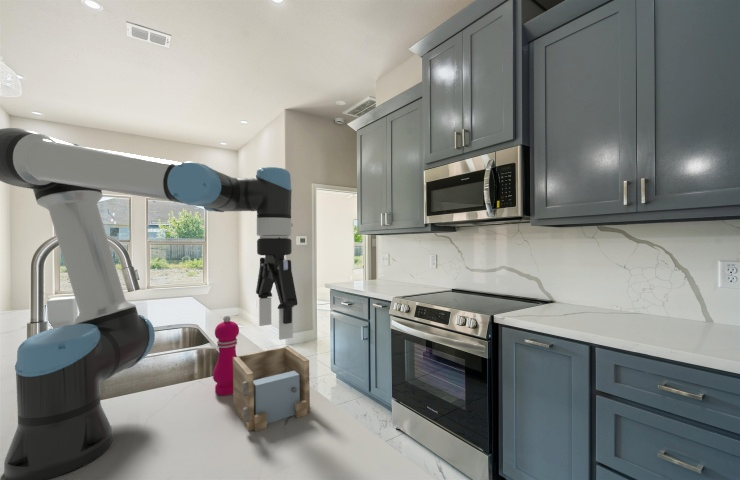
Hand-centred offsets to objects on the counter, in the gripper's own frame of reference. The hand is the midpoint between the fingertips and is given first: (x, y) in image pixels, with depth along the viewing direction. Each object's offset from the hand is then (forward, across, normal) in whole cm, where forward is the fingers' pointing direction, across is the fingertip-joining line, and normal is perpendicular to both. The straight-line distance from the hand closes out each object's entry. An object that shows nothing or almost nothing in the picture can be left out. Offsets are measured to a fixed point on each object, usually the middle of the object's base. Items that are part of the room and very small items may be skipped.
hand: (274, 331), depth 78 cm
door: (+20, 0, 0) cm, 20 cm away
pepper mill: (+20, +21, +6) cm, 29 cm away
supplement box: (+21, +132, +53) cm, 144 cm away
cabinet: (+19, +4, 0) cm, 20 cm away
